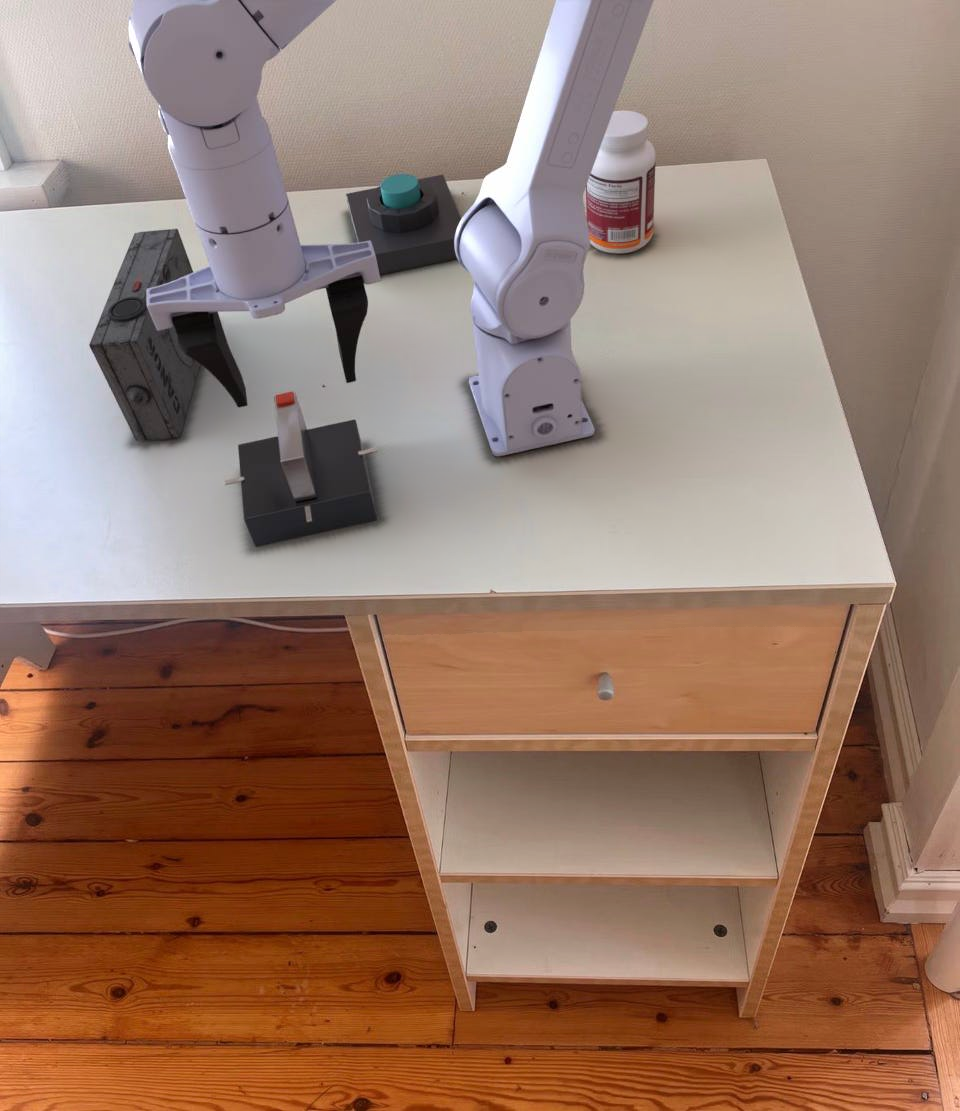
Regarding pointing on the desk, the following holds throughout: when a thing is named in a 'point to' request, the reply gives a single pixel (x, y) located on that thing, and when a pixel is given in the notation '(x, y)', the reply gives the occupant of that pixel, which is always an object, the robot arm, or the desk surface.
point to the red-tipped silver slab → (294, 446)
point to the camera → (146, 340)
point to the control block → (407, 226)
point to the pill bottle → (622, 186)
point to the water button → (400, 191)
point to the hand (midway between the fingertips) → (295, 385)
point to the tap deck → (336, 484)
